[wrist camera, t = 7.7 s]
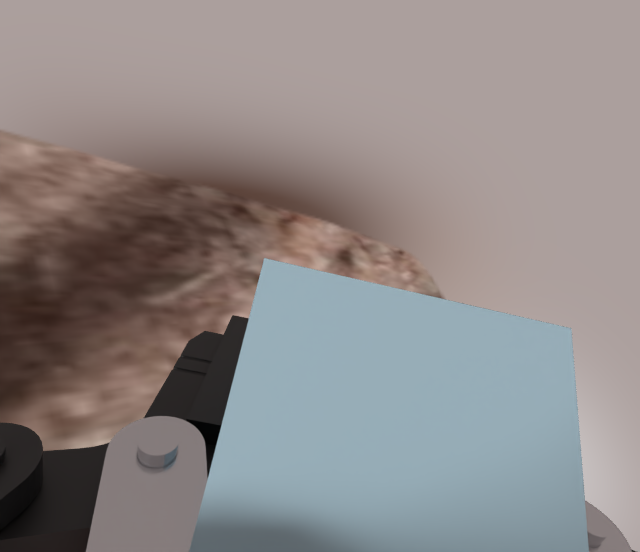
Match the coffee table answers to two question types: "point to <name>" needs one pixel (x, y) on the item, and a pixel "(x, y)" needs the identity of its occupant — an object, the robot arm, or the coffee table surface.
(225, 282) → the coffee table surface
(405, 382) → the block
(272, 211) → the coffee table surface
